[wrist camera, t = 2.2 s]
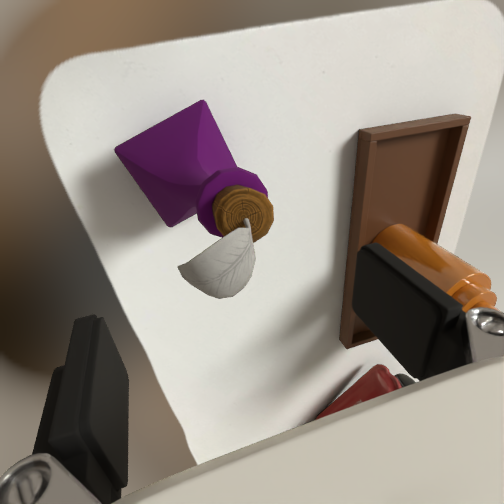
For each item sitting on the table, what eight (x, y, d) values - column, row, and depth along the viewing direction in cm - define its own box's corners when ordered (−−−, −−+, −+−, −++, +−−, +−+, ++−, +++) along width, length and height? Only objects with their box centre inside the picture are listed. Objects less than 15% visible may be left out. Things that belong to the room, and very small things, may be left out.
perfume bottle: (196, 93, 26) (281, 142, 11) (236, 174, 30) (334, 284, 16) (114, 139, 26) (90, 249, 11) (165, 213, 30) (197, 363, 15)
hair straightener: (234, 498, 63) (247, 551, 56) (371, 350, 52) (406, 394, 45) (292, 497, 70) (308, 543, 64) (420, 369, 60) (457, 408, 53)
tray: (358, 129, 32) (371, 133, 30) (455, 113, 34) (471, 116, 33) (339, 339, 48) (346, 349, 46) (406, 318, 50) (415, 327, 48)
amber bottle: (371, 229, 38) (520, 338, 23) (416, 218, 40) (585, 315, 25) (365, 273, 42) (492, 392, 27) (407, 262, 43) (550, 369, 28)
